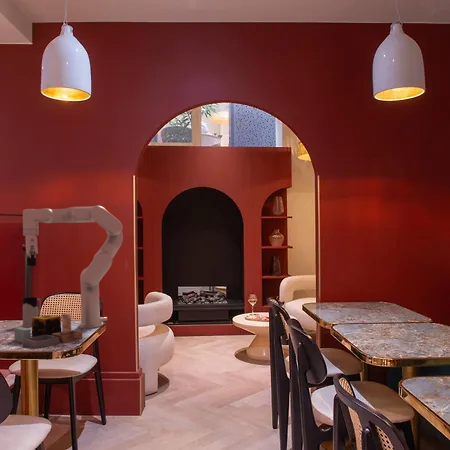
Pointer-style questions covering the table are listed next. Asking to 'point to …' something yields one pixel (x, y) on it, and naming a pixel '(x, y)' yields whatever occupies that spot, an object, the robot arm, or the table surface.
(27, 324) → the glass holder
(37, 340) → the tray
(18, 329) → the block
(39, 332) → the candle
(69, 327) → the dowel
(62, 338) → the socket block
